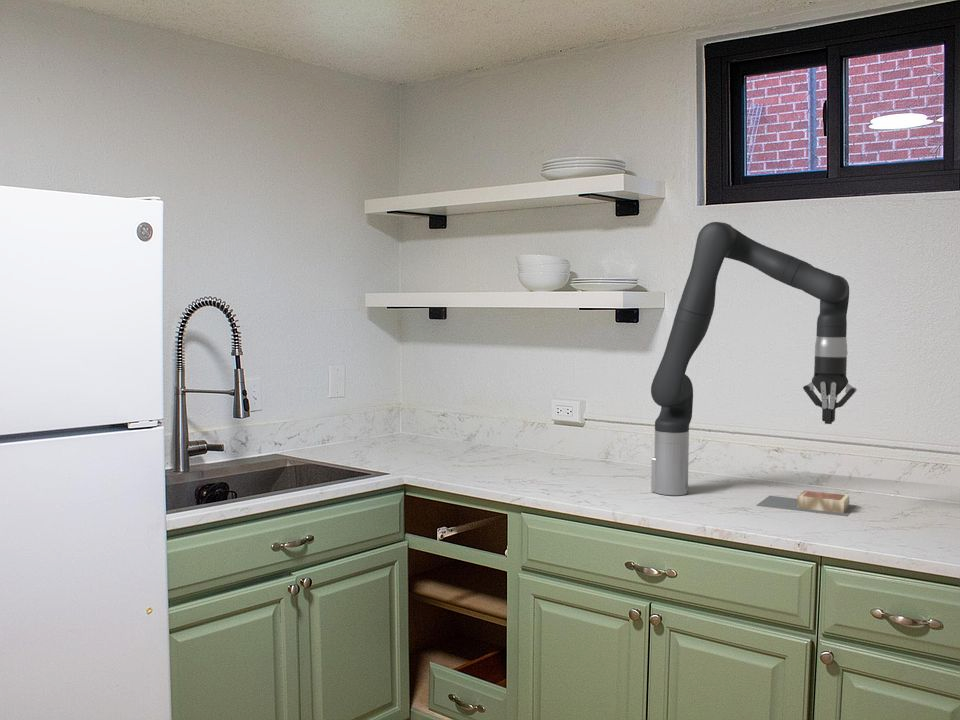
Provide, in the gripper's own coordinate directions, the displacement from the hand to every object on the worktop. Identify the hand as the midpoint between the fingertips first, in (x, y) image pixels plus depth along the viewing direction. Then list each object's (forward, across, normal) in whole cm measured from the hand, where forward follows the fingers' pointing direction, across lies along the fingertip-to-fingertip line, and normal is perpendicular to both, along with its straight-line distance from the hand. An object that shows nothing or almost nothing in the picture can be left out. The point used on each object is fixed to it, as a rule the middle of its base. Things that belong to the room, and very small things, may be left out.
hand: (828, 423), depth 228 cm
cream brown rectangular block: (+20, -6, 0) cm, 21 cm away
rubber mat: (+22, -5, 0) cm, 22 cm away
